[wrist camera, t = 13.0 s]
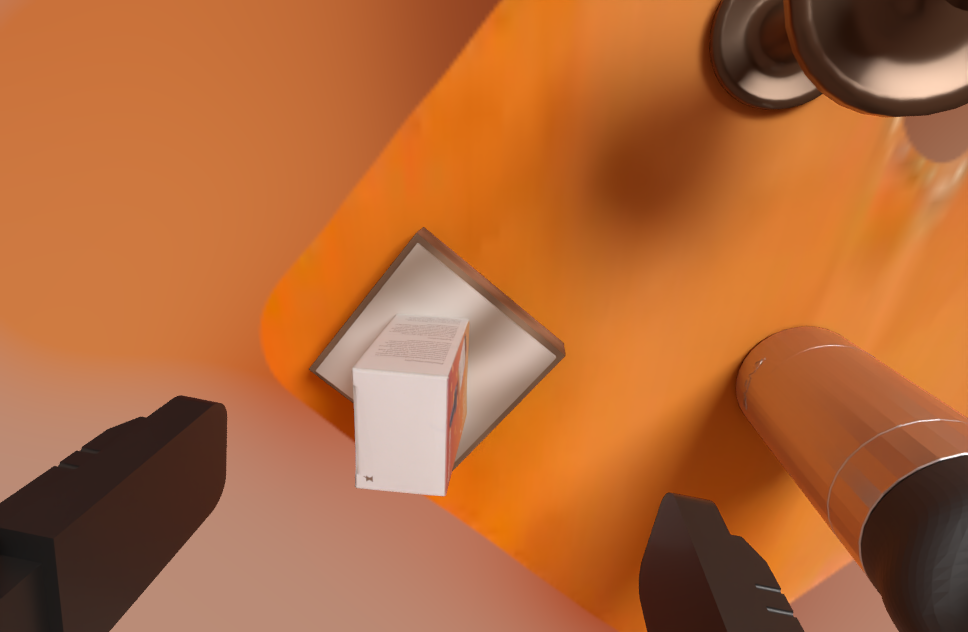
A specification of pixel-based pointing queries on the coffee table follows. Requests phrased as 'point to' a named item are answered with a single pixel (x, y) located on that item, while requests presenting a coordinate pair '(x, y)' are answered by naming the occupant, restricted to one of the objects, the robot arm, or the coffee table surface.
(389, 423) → the small box
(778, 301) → the coffee table surface
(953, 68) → the candlestick
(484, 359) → the tray
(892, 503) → the robot arm
